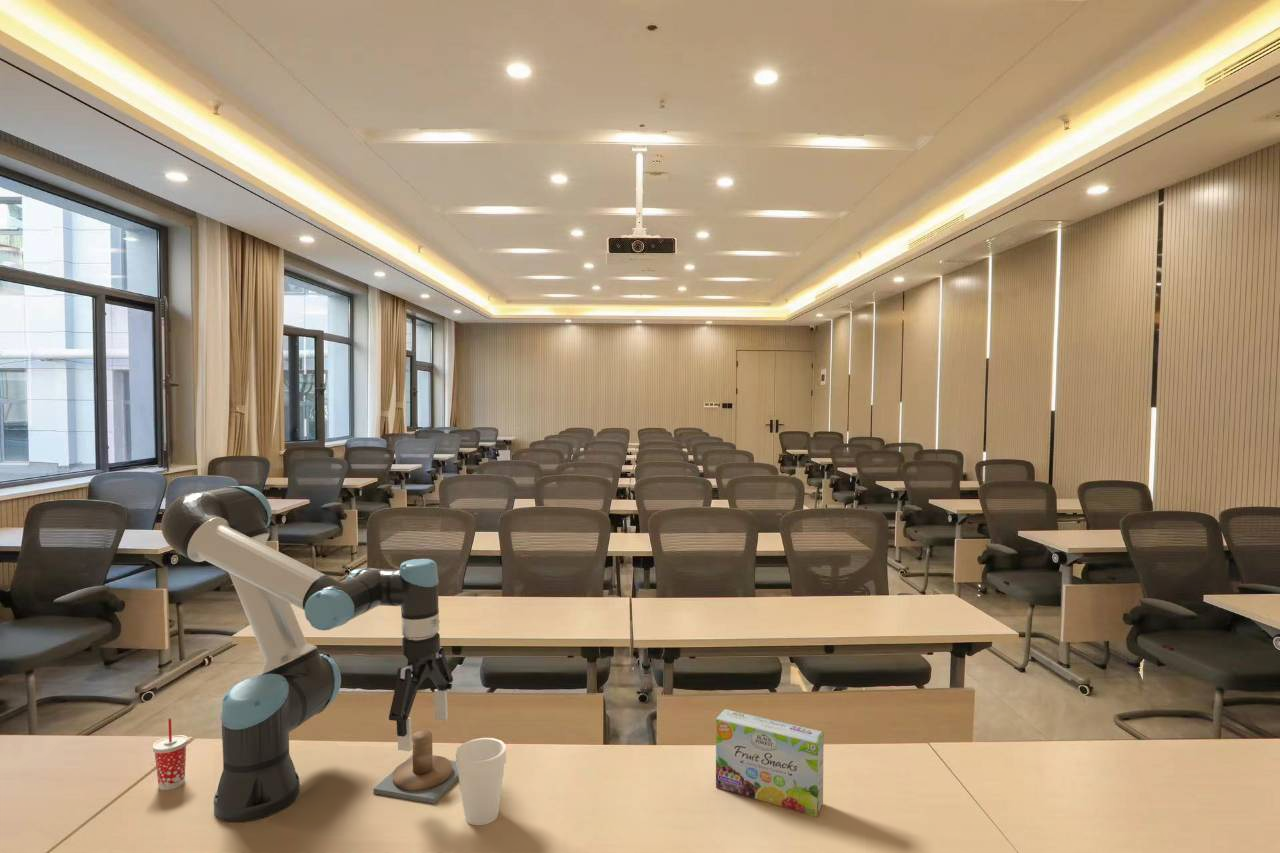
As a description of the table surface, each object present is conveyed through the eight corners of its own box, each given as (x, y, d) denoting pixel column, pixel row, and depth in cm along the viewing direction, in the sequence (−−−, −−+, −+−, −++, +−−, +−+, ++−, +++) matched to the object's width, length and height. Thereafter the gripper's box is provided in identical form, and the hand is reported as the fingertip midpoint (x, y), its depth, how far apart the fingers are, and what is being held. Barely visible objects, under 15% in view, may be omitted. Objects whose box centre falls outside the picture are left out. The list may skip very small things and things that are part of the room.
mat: (373, 793, 142) (373, 788, 142) (412, 759, 156) (412, 754, 156) (434, 803, 138) (434, 798, 138) (469, 767, 152) (469, 763, 152)
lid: (380, 786, 143) (379, 745, 142) (414, 757, 154) (413, 719, 154) (432, 795, 140) (431, 753, 139) (462, 764, 151) (462, 725, 151)
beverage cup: (186, 788, 144) (184, 721, 144) (151, 795, 142) (148, 727, 141) (191, 773, 150) (189, 709, 149) (156, 780, 147) (154, 715, 146)
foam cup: (512, 802, 139) (512, 739, 138) (498, 831, 130) (497, 763, 129) (466, 800, 140) (465, 736, 139) (449, 828, 130) (448, 760, 130)
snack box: (714, 789, 144) (714, 718, 143) (724, 776, 148) (724, 707, 148) (817, 818, 134) (818, 741, 133) (824, 803, 139) (824, 729, 138)
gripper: (401, 657, 133) (404, 766, 134) (466, 617, 157) (469, 709, 158) (367, 654, 135) (371, 761, 135) (437, 615, 159) (440, 706, 160)
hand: (424, 734), depth 147 cm, fingers open, 13 cm apart
